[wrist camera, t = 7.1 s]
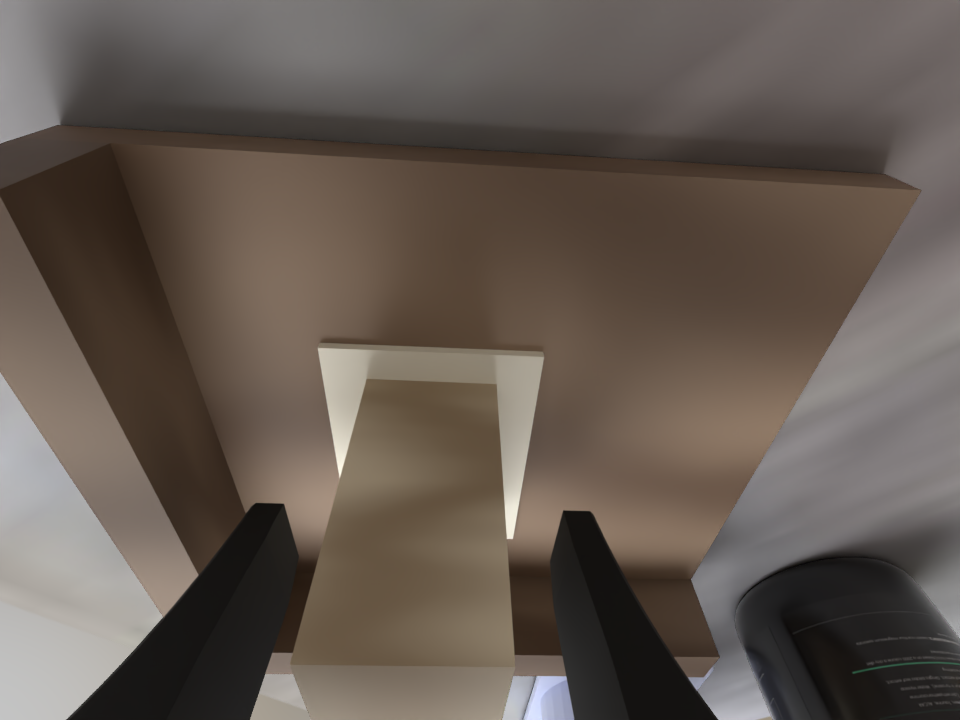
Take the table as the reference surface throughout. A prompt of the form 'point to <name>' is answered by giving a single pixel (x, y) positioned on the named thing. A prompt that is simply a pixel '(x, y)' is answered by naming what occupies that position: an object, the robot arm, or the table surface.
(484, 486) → the maple block
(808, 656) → the supplement bottle
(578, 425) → the corner board
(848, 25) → the table surface
